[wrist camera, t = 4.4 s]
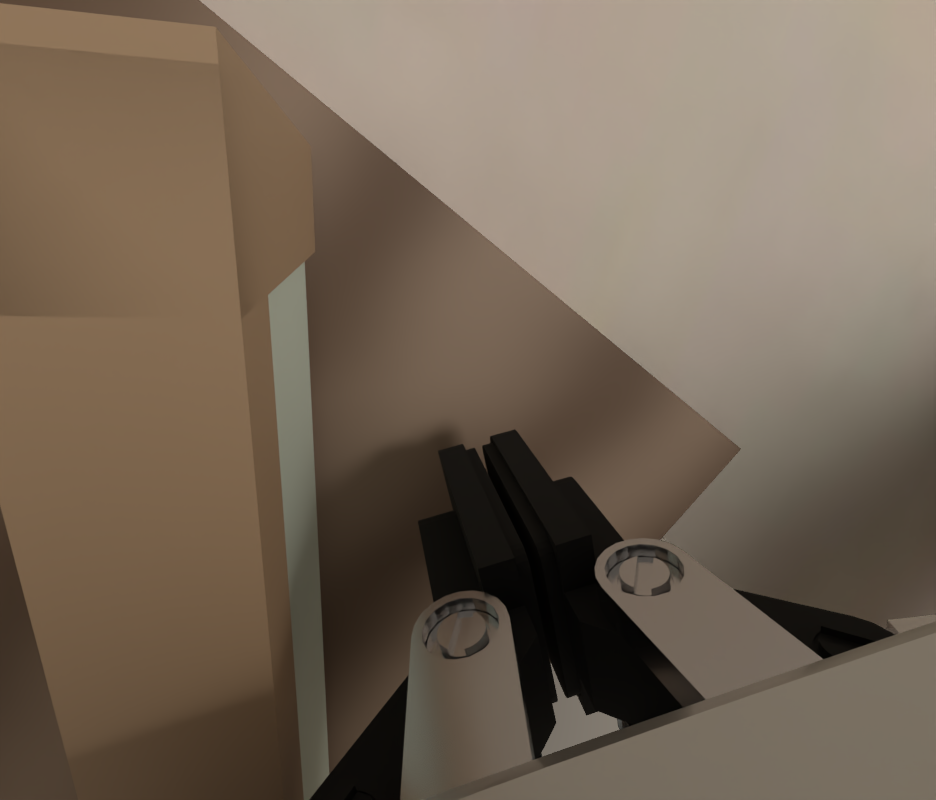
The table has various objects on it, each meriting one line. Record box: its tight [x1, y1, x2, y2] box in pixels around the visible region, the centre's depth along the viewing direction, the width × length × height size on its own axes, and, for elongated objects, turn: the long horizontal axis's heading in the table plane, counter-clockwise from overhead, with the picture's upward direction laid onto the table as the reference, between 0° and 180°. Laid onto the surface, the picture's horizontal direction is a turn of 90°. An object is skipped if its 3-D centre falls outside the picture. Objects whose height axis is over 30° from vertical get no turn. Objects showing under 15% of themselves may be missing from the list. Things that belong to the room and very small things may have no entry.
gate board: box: [0, 0, 740, 800], centre depth 12 cm, size 24×22×1 cm
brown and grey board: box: [0, 3, 329, 800], centre depth 9 cm, size 18×2×7 cm, turn 177°
